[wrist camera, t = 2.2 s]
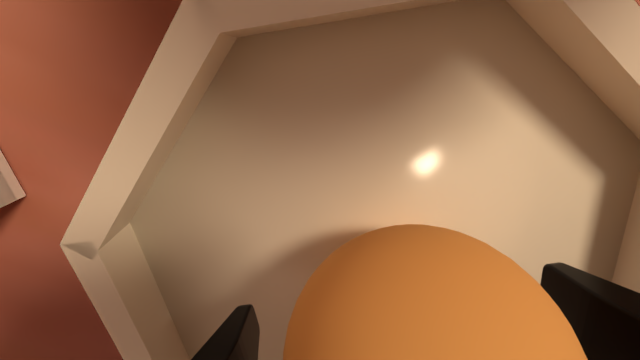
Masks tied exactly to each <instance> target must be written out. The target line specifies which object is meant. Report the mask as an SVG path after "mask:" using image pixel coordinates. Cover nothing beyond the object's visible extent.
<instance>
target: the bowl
mask: <svg viewBox="0 0 640 360" xmlns="http://www.w3.org/2000/svg"><path fill="white" fill-rule="evenodd" d="M404 224H422V225H430V226H436V227H442V228H447V229H451V230H454V231H458V232H461V233H464V234H466V235H469V236H471V237H473V238H476V239H478V240H480V241H482V242H485V243H487V244H488V245H490V246H491V247H493V248H495V249H496V250H498V251H499V252H501V253H503V254H504V255H506V256H507V257H509V258H511V259H512V260H513V261H514V262H515V263H517V264H518V265H519V266H520V267H521V268H522V269H524V270H525V271H526V272H527V273H528V274H529V275H531V276H532V277H533V278H534V279H535V280H536V281H537V282H538V283H539V284H540V283H541V276H542V270H543V267H544V265H546V264H550V263H557V262H561V263H565V264H567V265H570V266H572V267H575V268H577V269H580V270H582V271H585V272H587V273H590V274H592V275H595V276H598V277H600V278H603V279H605V280H608V281H610V282H613V283H615V284H618V285H620V286H623V287H626V288H628V289H631V290H633V291H636V292H638V293H640V7H639V5H638V4H637V3H636V2H635V0H182V2H181V4H180V6H179V8H178V10H177V12H176V14H175V16H174V18H173V20H172V22H171V24H170V26H169V28H168V30H167V32H166V34H165V36H164V38H163V40H162V42H161V44H160V46H159V48H158V50H157V52H156V54H155V56H154V58H153V60H152V62H151V64H150V66H149V68H148V70H147V72H146V74H145V76H144V78H143V80H142V82H141V84H140V86H139V88H138V90H137V92H136V94H135V96H134V98H133V100H132V102H131V104H130V106H129V108H128V110H127V112H126V114H125V116H124V118H123V120H122V122H121V124H120V125H119V127H118V129H117V131H116V133H115V135H114V137H113V139H112V141H111V143H110V145H109V147H108V149H107V151H106V153H105V155H104V157H103V159H102V161H101V163H100V165H99V167H98V169H97V171H96V173H95V175H94V177H93V179H92V181H91V183H90V185H89V187H88V189H87V191H86V193H85V195H84V197H83V199H82V201H81V203H80V205H79V207H78V209H77V211H76V213H75V215H74V217H73V219H72V221H71V223H70V225H69V227H68V229H67V231H66V233H65V235H64V237H63V239H62V241H61V243H60V246H61V248H62V250H63V252H64V253H65V255H66V257H67V259H68V261H69V263H70V264H71V266H72V268H73V270H74V272H75V273H76V275H77V277H78V279H79V281H80V282H81V284H82V286H83V288H84V290H85V291H86V293H87V295H88V297H89V299H90V300H91V302H92V304H93V306H94V308H95V309H96V311H97V313H98V315H99V317H100V318H101V320H102V322H103V324H104V326H105V327H106V329H107V331H108V333H109V335H110V336H111V338H112V340H113V342H114V344H115V345H116V347H117V349H118V351H119V353H120V354H121V356H122V358H123V360H191V359H192V358H193V357H194V355H195V354H196V353H197V352H198V351H199V350H200V348H201V347H202V346H203V345H204V344H205V343H206V342H207V340H208V339H209V338H210V337H211V336H212V335H213V334H214V332H215V331H216V330H217V329H218V328H219V327H220V325H221V324H222V323H223V322H224V321H225V320H226V319H227V317H228V316H229V315H230V314H231V313H232V312H233V311H234V309H235V308H236V307H237V306H240V305H246V304H251V305H253V307H254V310H255V313H256V316H257V320H258V323H259V328H260V337H259V350H258V360H283V350H284V345H285V339H286V334H287V328H288V324H289V321H290V318H291V315H292V312H293V309H294V307H295V304H296V301H297V299H298V297H299V295H300V293H301V292H302V290H303V288H304V286H305V285H306V283H307V281H308V279H309V278H310V277H311V275H312V274H313V273H314V271H315V270H316V269H317V268H318V267H319V265H320V264H321V263H322V262H323V261H324V260H325V259H326V258H327V257H328V256H329V255H330V254H331V253H333V252H334V251H335V250H337V249H338V248H339V247H340V246H342V245H343V244H345V243H347V242H348V241H350V240H352V239H353V238H356V237H358V236H360V235H362V234H365V233H367V232H370V231H373V230H376V229H379V228H384V227H389V226H394V225H404Z"/></svg>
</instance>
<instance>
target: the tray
mask: <svg viewBox="0 0 640 360" xmlns="http://www.w3.org/2000/svg"><path fill="white" fill-rule="evenodd" d="M25 196H26V194H25V193H24V191H23V189H22V187H21V185H20V184H19V182H18V180H17V178H16V177H15V175H14V173H13V171H12V169H11V168H10V166H9V164H8V162H7V161H6V159H5V157H4V155H3V153H2V152H1V150H0V208H1V207H3V206H6V205H8V204H10V203H12V202H14V201H16V200H18V199H20V198H22V197H25Z"/></svg>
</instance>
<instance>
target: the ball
mask: <svg viewBox="0 0 640 360" xmlns="http://www.w3.org/2000/svg"><path fill="white" fill-rule="evenodd" d="M283 360H588V359H587V357H586V355H585V353H584V351H583V349H582V346H581V344H580V342H579V340H578V338H577V336H576V334H575V332H574V330H573V328H572V326H571V325H570V323H569V322H568V320H567V319H566V317H565V316H564V314H563V313H562V311H561V310H560V308H559V307H558V306H557V304H556V303H555V302H554V301H553V299H552V298H551V297H550V296H549V294H548V293H547V292H546V291H545V290H544V289H543V288H542V286H541V285H540V284H539V283H538V282H537V281H536V280H535V279H534V278H533V277H532V276H531V275H529V274H528V273H527V272H526V271H525V270H524V269H522V268H521V267H520V266H519V265H518V264H517V263H515V262H514V261H513V260H512V259H511V258H509V257H507V256H506V255H504V254H503V253H501V252H499V251H498V250H496V249H495V248H493V247H491V246H490V245H488V244H487V243H485V242H482V241H480V240H478V239H476V238H473V237H471V236H469V235H466V234H464V233H461V232H458V231H454V230H451V229H447V228H442V227H436V226H430V225H422V224H404V225H394V226H389V227H384V228H379V229H376V230H373V231H370V232H367V233H365V234H362V235H360V236H358V237H356V238H353V239H352V240H350V241H348V242H347V243H345V244H343V245H342V246H340V247H339V248H338V249H337V250H335V251H334V252H333V253H331V254H330V255H329V256H328V257H327V258H326V259H325V260H324V261H323V262H322V263H321V264H320V265H319V267H318V268H317V269H316V270H315V271H314V273H313V274H312V275H311V277H310V278H309V279H308V281H307V283H306V285H305V286H304V288H303V290H302V292H301V293H300V295H299V297H298V299H297V301H296V304H295V307H294V309H293V312H292V315H291V318H290V321H289V324H288V328H287V334H286V339H285V345H284V350H283Z"/></svg>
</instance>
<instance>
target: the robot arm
mask: <svg viewBox="0 0 640 360" xmlns="http://www.w3.org/2000/svg"><path fill="white" fill-rule="evenodd" d="M540 285H541V286H542V288H543V289H544V290H545V291H546V292H547V293H548V294H549V296H550V297H551V298H552V299H553V301H554V302H555V303H556V304H557V306H558V307H559V308H560V310H561V311H562V313H563V314H564V316H565V317H566V319H567V320H568V322H569V323H570V325H571V326H572V328H573V330H574V332H575V334H576V336H577V338H578V340H579V342H580V344H581V346H582V349H583V351H584V353H585V355H586V357H587V359H588V360H640V293H638V292H636V291H633V290H631V289H628V288H626V287H623V286H620V285H618V284H615V283H613V282H610V281H608V280H605V279H603V278H600V277H598V276H595V275H592V274H590V273H587V272H585V271H582V270H580V269H577V268H575V267H572V266H570V265H567V264H565V263H561V262H557V263H550V264H546V265H544V267H543V270H542V276H541V283H540ZM259 337H260V328H259V323H258V320H257V316H256V313H255V310H254V307H253V305H251V304H246V305H240V306H237V307H236V308H235V309H234V311H233V312H232V313H231V314H230V315H229V316H228V317H227V319H226V320H225V321H224V322H223V323H222V324H221V325H220V327H219V328H218V329H217V330H216V331H215V332H214V334H213V335H212V336H211V337H210V338H209V339H208V340H207V342H206V343H205V344H204V345H203V346H202V347H201V348H200V350H199V351H198V352H197V353H196V354H195V355H194V357H193V358H192V359H191V360H258V350H259Z"/></svg>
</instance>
